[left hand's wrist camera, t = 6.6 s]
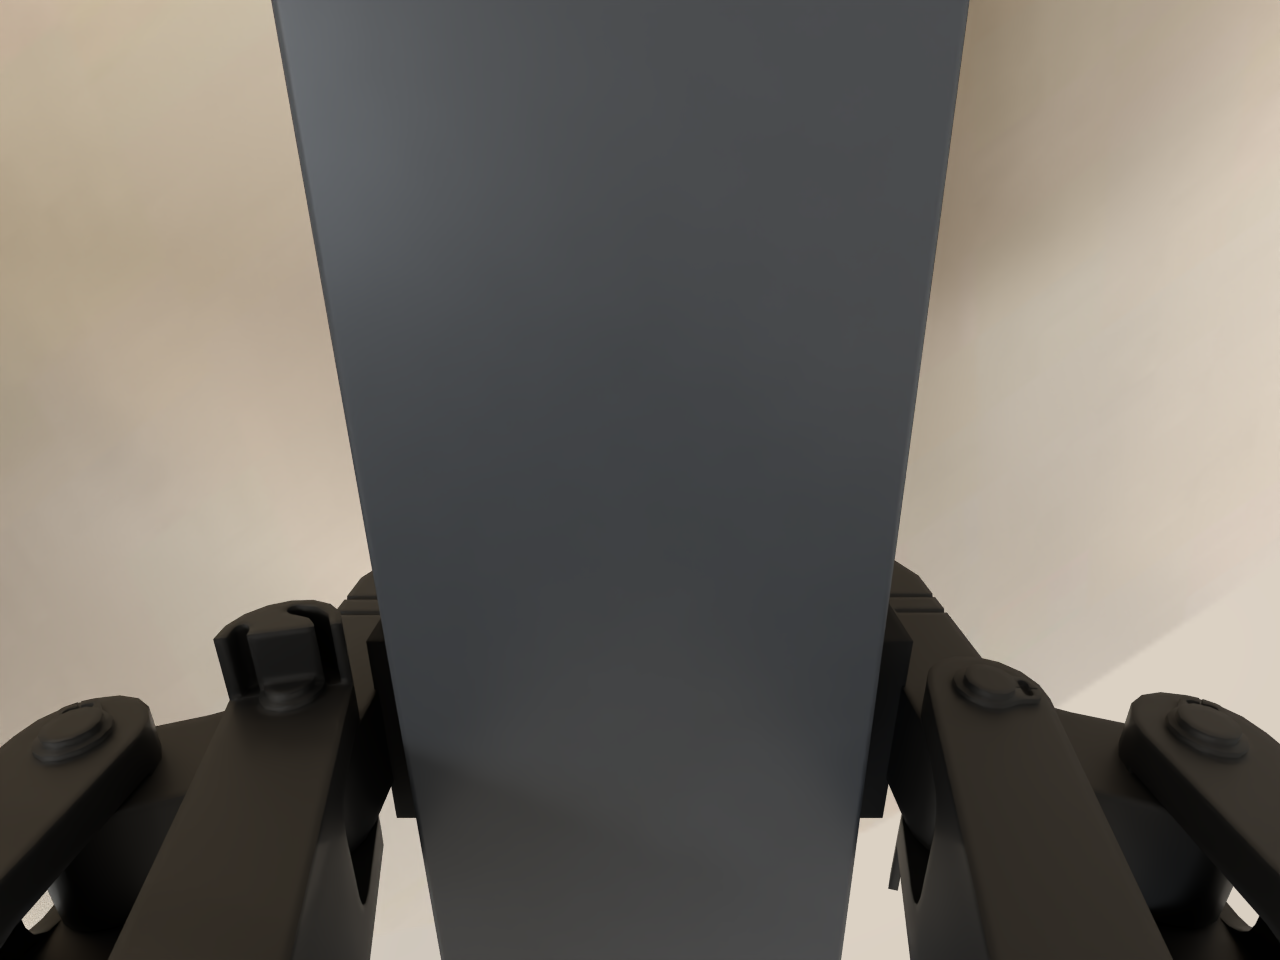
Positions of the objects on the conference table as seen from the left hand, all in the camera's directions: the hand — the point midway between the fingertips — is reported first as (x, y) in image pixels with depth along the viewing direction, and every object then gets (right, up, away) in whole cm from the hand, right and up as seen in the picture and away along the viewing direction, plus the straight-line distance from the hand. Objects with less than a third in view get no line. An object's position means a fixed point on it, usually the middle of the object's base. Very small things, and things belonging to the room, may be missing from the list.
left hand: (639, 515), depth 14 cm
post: (0, +24, -9) cm, 26 cm away
